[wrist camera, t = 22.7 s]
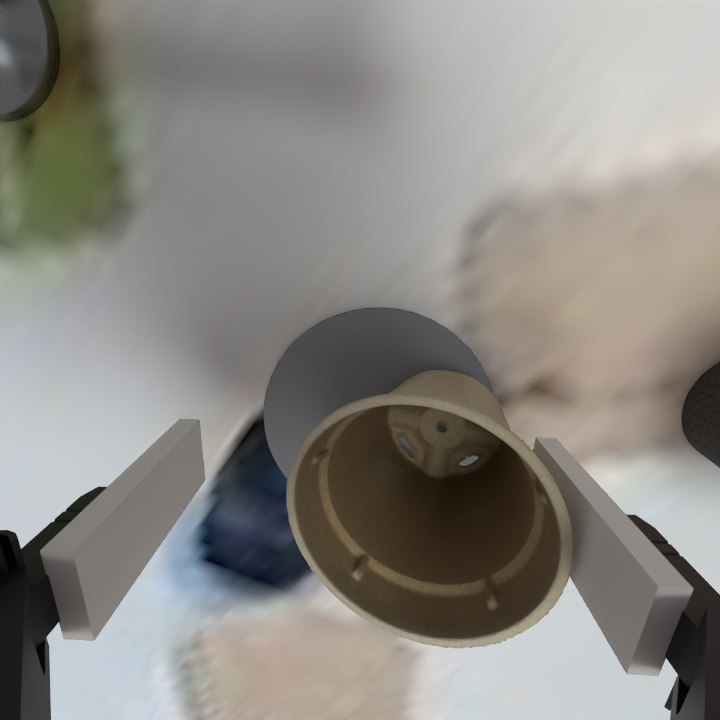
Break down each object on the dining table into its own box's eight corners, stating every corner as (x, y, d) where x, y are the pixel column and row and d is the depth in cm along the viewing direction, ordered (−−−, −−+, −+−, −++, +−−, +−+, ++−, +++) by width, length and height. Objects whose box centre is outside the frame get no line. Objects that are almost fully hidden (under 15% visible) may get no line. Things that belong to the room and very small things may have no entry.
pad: (262, 301, 20) (260, 302, 20) (509, 314, 20) (511, 315, 20) (268, 509, 24) (266, 514, 23) (476, 522, 24) (478, 527, 23)
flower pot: (585, 403, 18) (654, 520, 10) (475, 533, 21) (463, 695, 14) (411, 304, 19) (353, 338, 12) (336, 441, 23) (252, 538, 15)
